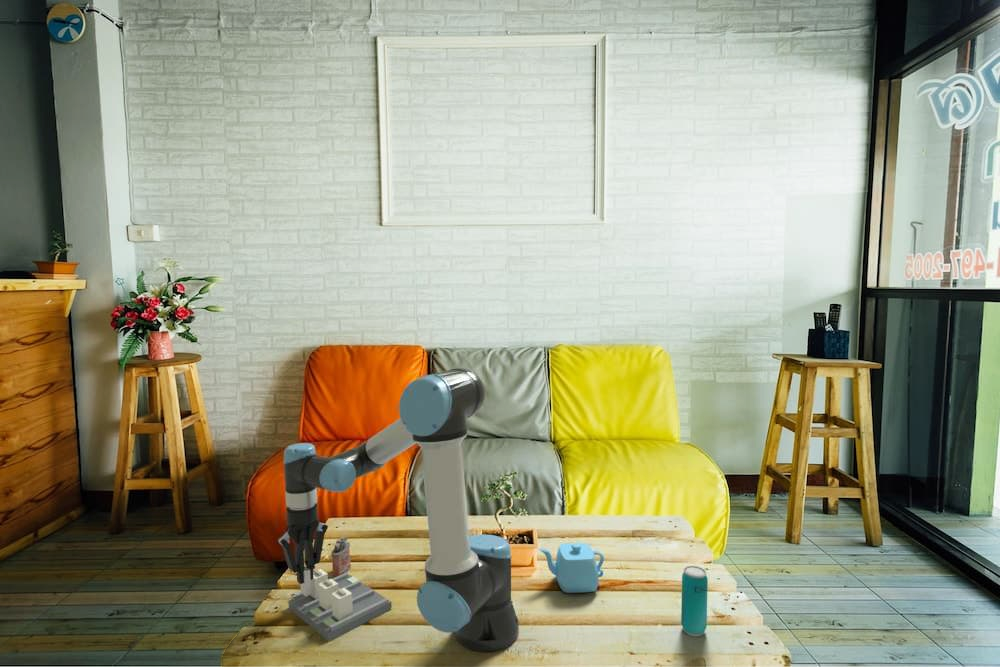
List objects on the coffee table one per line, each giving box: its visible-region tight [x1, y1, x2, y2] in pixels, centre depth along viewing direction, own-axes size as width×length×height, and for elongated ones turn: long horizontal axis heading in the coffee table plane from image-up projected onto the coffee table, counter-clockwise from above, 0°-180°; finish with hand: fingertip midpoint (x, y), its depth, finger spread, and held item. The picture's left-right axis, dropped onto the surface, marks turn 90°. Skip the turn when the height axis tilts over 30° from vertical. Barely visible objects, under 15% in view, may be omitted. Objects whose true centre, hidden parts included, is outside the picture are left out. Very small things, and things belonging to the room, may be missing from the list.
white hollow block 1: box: [310, 568, 329, 599], centre depth 149 cm, size 4×4×6 cm
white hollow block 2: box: [331, 588, 353, 621], centre depth 140 cm, size 4×4×6 cm
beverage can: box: [680, 565, 709, 638], centre depth 135 cm, size 6×6×15 cm
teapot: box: [538, 542, 605, 594], centre depth 157 cm, size 12×18×12 cm
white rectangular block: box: [318, 578, 339, 611], centre depth 144 cm, size 4×4×6 cm
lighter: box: [330, 535, 352, 579], centre depth 165 cm, size 8×3×10 cm, turn 168°
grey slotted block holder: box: [287, 572, 393, 642], centre depth 147 cm, size 20×18×3 cm
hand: (305, 593), depth 147 cm, fingers closed
